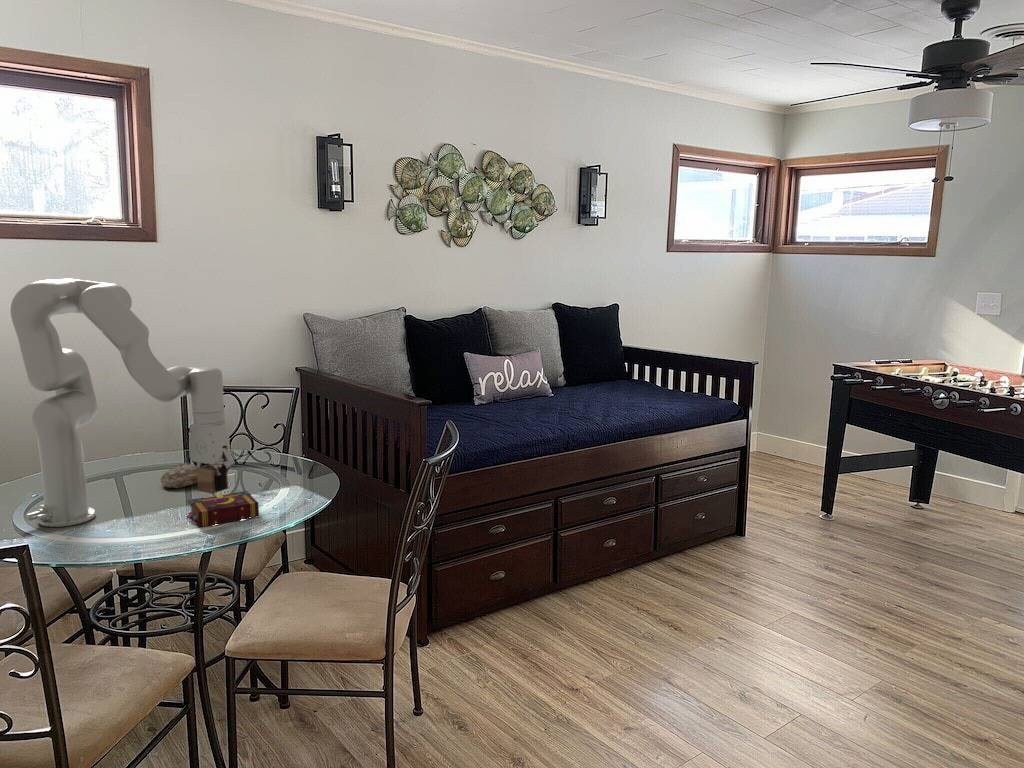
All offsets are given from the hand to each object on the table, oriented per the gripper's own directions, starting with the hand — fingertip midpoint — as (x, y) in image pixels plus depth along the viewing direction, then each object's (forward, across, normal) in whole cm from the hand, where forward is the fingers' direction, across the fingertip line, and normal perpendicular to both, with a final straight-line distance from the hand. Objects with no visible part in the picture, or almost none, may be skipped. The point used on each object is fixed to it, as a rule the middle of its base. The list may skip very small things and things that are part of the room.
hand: (213, 487), depth 199 cm
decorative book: (+9, 0, +3) cm, 10 cm away
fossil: (+9, -32, +17) cm, 37 cm away
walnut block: (+1, 0, 0) cm, 1 cm away
